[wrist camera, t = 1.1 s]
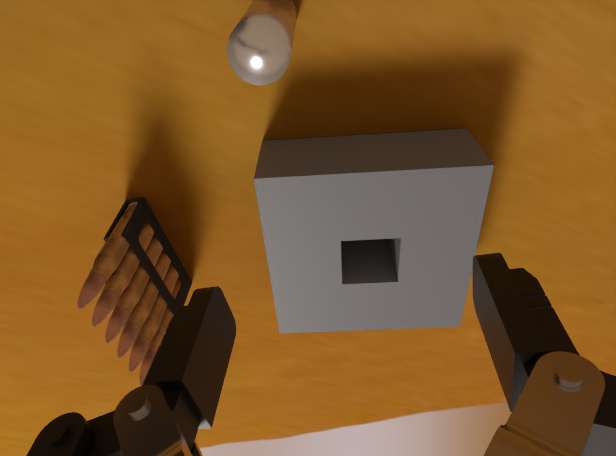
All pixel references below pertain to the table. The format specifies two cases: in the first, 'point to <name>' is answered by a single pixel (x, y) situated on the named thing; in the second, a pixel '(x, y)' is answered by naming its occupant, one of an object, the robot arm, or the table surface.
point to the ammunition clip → (136, 284)
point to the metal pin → (263, 41)
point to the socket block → (371, 228)
